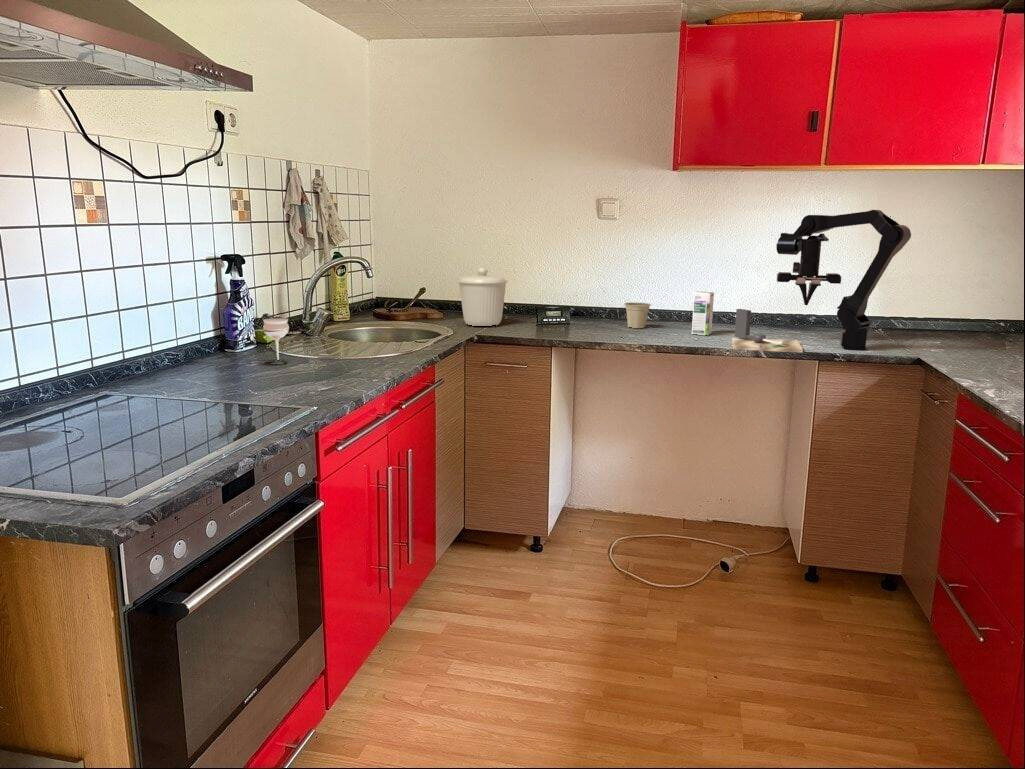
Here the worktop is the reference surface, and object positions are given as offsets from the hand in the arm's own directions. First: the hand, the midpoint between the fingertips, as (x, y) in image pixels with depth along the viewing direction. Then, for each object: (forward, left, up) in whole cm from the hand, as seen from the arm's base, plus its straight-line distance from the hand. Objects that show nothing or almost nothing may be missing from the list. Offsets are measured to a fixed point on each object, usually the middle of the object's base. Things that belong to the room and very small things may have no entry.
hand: (806, 305), depth 246 cm
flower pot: (+55, -17, -12) cm, 59 cm away
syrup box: (+32, -8, -12) cm, 35 cm away
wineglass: (+143, +77, -12) cm, 163 cm away
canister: (+110, -7, -12) cm, 111 cm away
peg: (+14, +11, -11) cm, 21 cm away
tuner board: (+12, +12, -12) cm, 20 cm away
